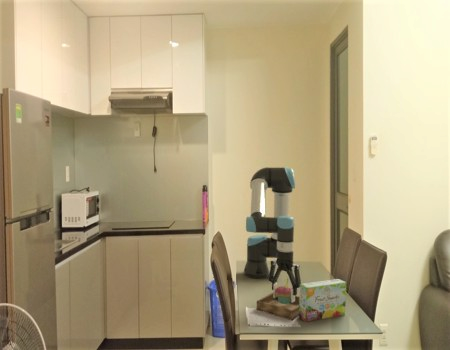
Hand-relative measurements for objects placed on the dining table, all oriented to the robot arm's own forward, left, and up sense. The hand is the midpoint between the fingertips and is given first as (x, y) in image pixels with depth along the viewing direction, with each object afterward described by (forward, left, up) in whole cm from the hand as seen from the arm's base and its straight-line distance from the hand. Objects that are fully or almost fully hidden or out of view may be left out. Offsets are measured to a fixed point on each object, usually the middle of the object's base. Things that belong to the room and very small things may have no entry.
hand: (284, 299), depth 173 cm
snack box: (+17, +3, -5) cm, 18 cm away
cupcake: (0, 0, -2) cm, 2 cm away
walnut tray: (0, 0, -4) cm, 4 cm away
